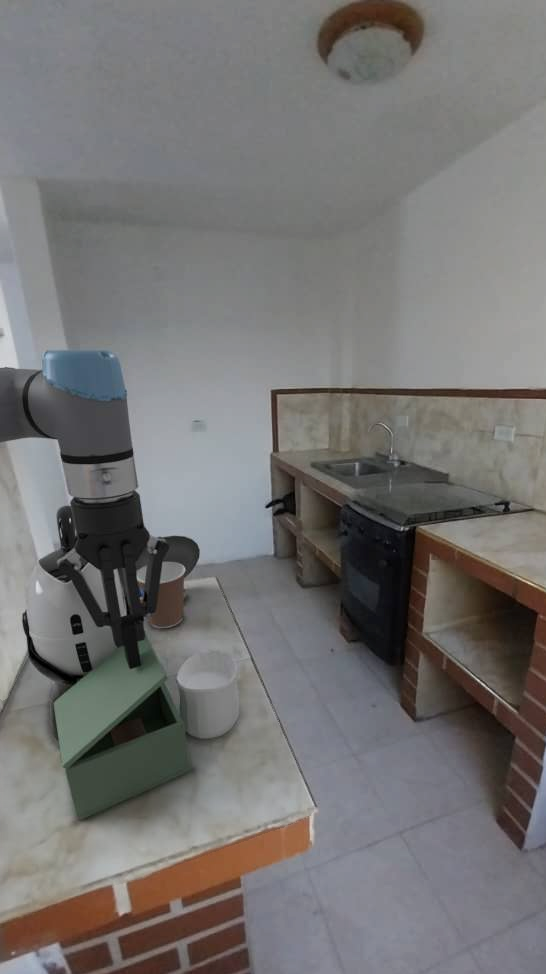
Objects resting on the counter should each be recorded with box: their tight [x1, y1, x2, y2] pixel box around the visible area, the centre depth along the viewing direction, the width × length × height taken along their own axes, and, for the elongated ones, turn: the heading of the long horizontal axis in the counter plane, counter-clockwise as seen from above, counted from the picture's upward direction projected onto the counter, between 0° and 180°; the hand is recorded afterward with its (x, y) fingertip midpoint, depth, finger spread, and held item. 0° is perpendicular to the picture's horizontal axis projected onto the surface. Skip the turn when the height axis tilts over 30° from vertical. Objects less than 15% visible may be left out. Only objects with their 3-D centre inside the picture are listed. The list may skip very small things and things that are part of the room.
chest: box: [64, 682, 191, 821], centre depth 65 cm, size 15×13×9 cm
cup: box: [175, 649, 240, 739], centre depth 73 cm, size 10×10×10 cm
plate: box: [118, 535, 201, 598], centre depth 106 cm, size 21×21×2 cm
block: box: [110, 718, 146, 747], centre depth 66 cm, size 4×4×4 cm
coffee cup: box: [136, 562, 185, 629], centre depth 100 cm, size 10×10×12 cm
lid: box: [54, 631, 169, 769], centre depth 61 cm, size 15×13×1 cm
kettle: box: [21, 504, 130, 743], centre depth 74 cm, size 24×16×32 cm, turn 25°
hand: (133, 661), depth 62 cm, fingers closed
